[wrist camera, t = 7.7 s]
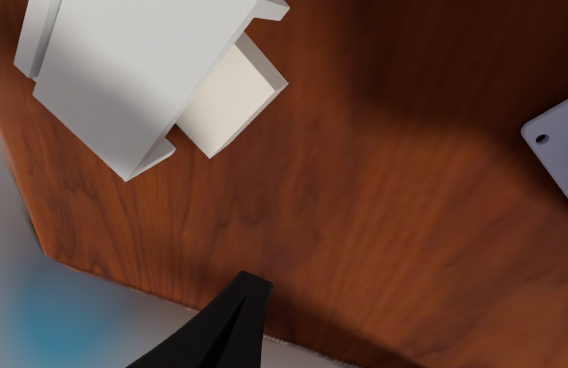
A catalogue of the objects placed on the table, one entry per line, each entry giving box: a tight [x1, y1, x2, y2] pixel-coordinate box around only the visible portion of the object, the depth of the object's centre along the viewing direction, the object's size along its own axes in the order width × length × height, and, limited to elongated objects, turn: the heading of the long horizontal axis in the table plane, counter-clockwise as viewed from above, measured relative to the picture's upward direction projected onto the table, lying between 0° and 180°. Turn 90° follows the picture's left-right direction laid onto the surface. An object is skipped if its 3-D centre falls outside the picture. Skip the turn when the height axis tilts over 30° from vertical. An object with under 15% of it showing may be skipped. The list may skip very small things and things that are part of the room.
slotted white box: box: [13, 0, 290, 181], centre depth 15 cm, size 8×13×4 cm, turn 135°
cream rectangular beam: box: [175, 31, 289, 158], centre depth 16 cm, size 10×6×2 cm, turn 44°
